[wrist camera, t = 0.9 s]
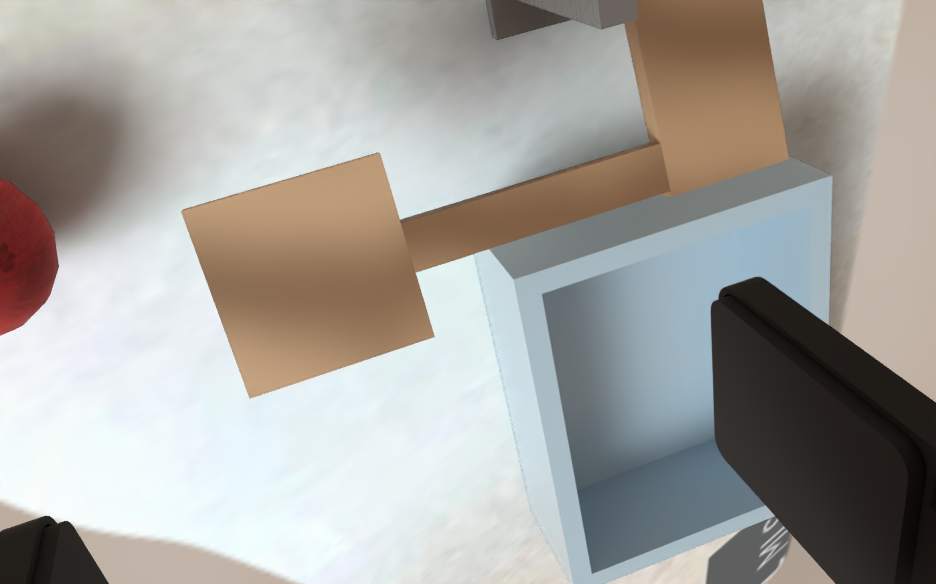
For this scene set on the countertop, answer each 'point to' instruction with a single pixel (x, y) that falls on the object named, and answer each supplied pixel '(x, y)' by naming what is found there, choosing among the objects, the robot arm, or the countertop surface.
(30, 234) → the onion
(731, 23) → the lever
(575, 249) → the dish
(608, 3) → the fulcrum
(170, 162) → the countertop surface
